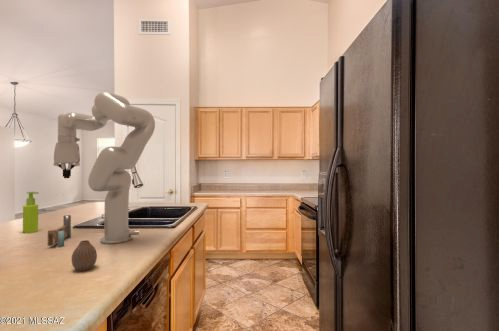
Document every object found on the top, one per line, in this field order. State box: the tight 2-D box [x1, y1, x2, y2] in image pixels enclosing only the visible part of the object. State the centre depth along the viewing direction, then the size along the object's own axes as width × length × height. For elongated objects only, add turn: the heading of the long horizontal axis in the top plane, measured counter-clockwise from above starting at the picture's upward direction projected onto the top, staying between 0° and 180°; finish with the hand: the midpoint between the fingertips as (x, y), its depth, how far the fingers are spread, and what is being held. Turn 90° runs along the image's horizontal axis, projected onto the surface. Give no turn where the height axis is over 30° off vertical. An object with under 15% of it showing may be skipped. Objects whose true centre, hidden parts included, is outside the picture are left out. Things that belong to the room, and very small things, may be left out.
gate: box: [47, 225, 67, 247], centre depth 115 cm, size 15×2×6 cm, turn 15°
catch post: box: [57, 231, 65, 248], centre depth 111 cm, size 2×2×6 cm
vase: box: [71, 239, 98, 272], centre depth 87 cm, size 7×7×9 cm
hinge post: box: [62, 214, 72, 239], centre depth 125 cm, size 3×3×10 cm
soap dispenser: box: [22, 191, 40, 234], centre depth 135 cm, size 6×7×20 cm
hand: (66, 178), depth 132 cm, fingers closed
